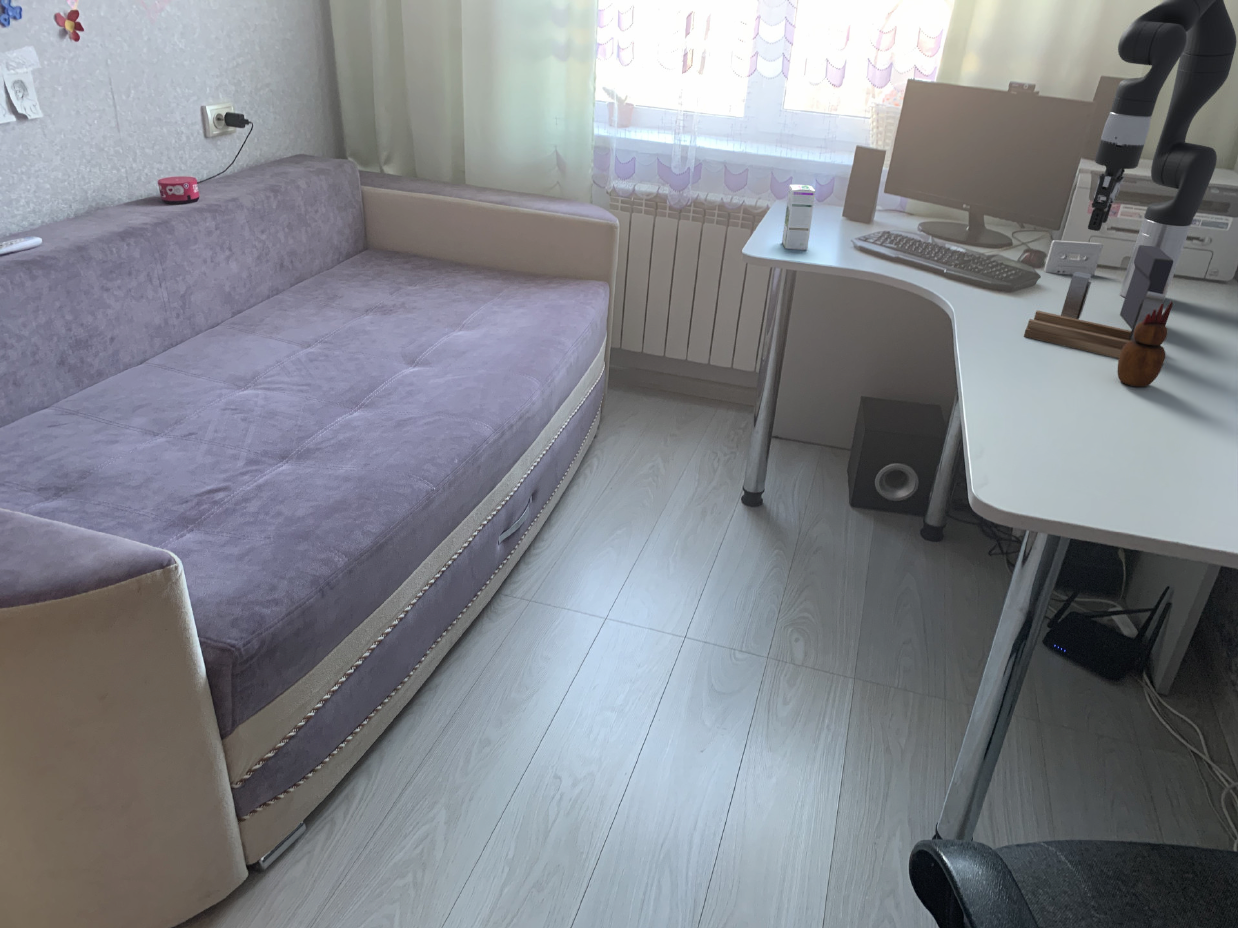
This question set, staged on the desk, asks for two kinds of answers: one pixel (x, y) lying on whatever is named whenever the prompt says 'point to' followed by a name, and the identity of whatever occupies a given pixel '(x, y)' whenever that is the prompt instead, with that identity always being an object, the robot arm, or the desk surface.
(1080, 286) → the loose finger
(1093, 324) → the rail
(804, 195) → the syrup box
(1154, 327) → the wooden figurine
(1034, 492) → the desk surface
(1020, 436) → the desk surface
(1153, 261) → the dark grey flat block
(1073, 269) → the cassette
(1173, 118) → the robot arm
